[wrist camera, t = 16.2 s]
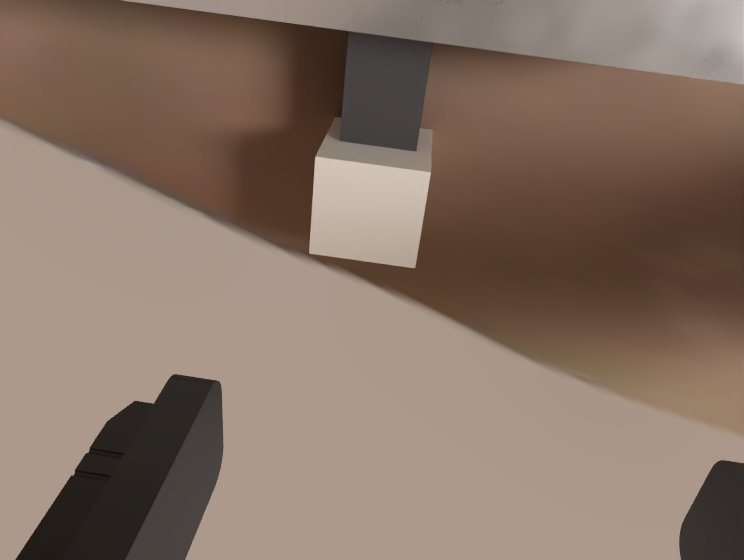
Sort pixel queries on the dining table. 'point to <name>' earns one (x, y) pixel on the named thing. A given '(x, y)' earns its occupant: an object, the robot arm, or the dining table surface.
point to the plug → (375, 156)
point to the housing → (535, 28)
